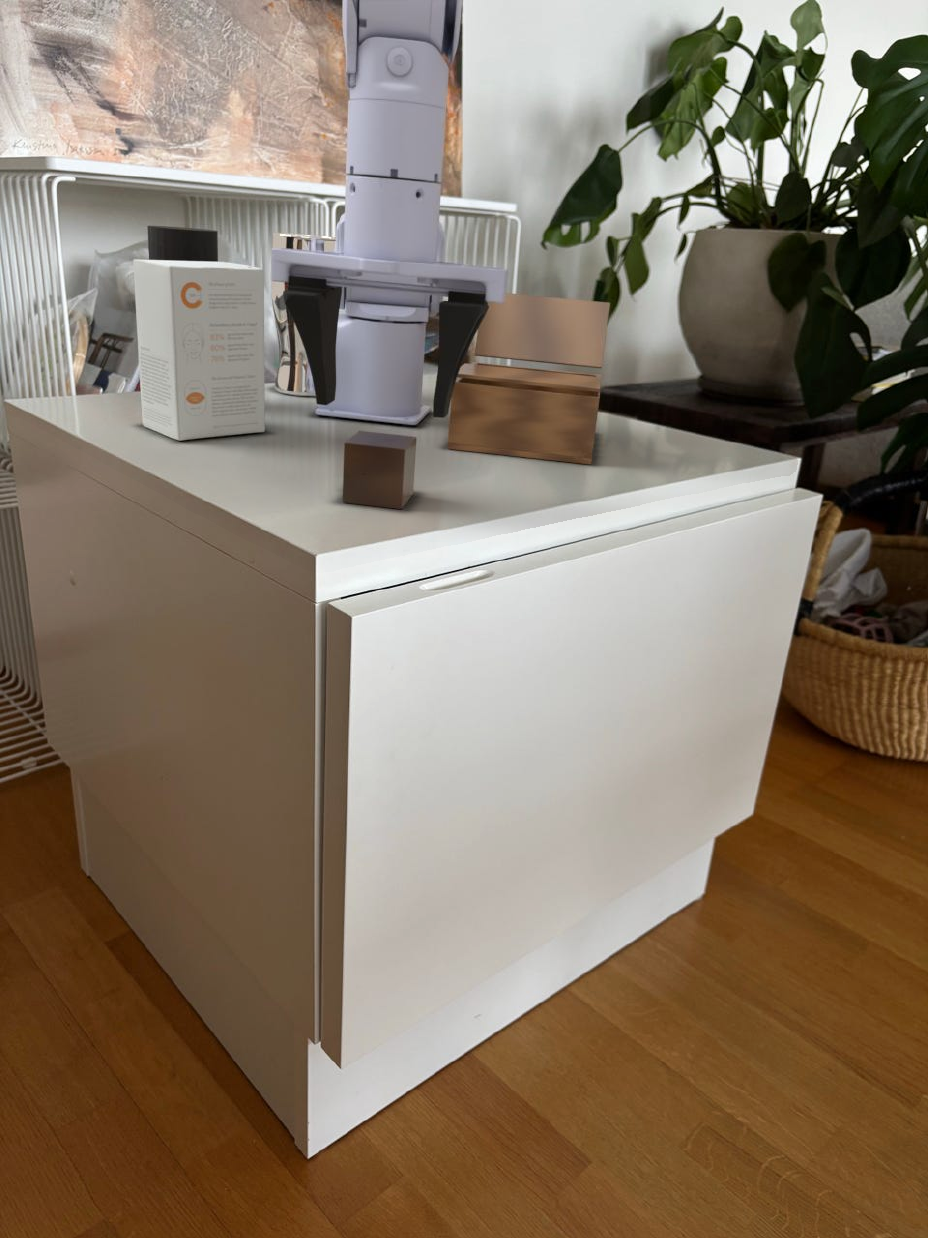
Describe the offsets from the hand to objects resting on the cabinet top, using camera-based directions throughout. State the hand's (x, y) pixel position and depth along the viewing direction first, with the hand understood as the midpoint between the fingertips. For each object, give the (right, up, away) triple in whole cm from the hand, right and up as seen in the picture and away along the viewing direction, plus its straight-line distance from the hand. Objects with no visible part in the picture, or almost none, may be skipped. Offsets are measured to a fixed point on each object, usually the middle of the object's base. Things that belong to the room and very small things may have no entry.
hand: (382, 408), depth 63 cm
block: (0, -6, +2) cm, 6 cm away
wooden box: (+11, +2, +23) cm, 26 cm away
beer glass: (-11, +10, +37) cm, 40 cm away
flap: (+13, +13, +27) cm, 33 cm away
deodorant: (-21, +7, +28) cm, 35 cm away
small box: (-16, +2, +17) cm, 24 cm away
